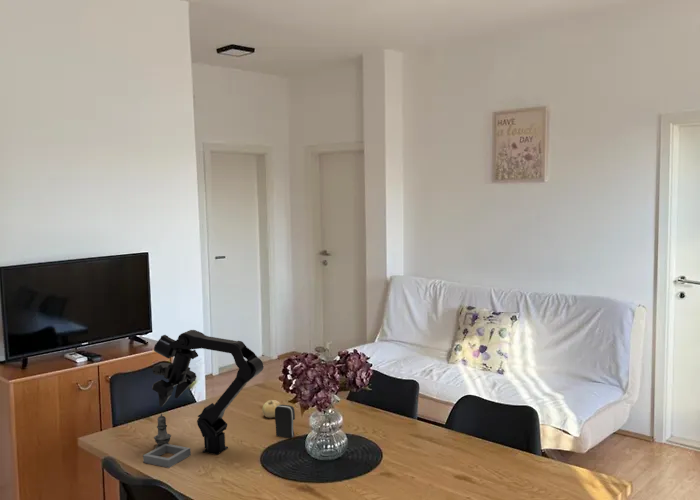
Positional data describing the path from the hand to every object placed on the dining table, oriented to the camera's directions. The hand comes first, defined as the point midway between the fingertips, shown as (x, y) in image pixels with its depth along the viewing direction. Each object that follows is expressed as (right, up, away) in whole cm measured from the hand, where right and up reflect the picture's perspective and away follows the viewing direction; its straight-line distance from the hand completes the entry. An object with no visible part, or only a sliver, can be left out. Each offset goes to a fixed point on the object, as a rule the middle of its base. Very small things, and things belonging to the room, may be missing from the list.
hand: (168, 402), depth 232 cm
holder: (+3, -17, -10) cm, 20 cm away
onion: (+34, -13, +29) cm, 46 cm away
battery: (+41, -14, +8) cm, 44 cm away
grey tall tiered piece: (-2, -16, +1) cm, 16 cm away
